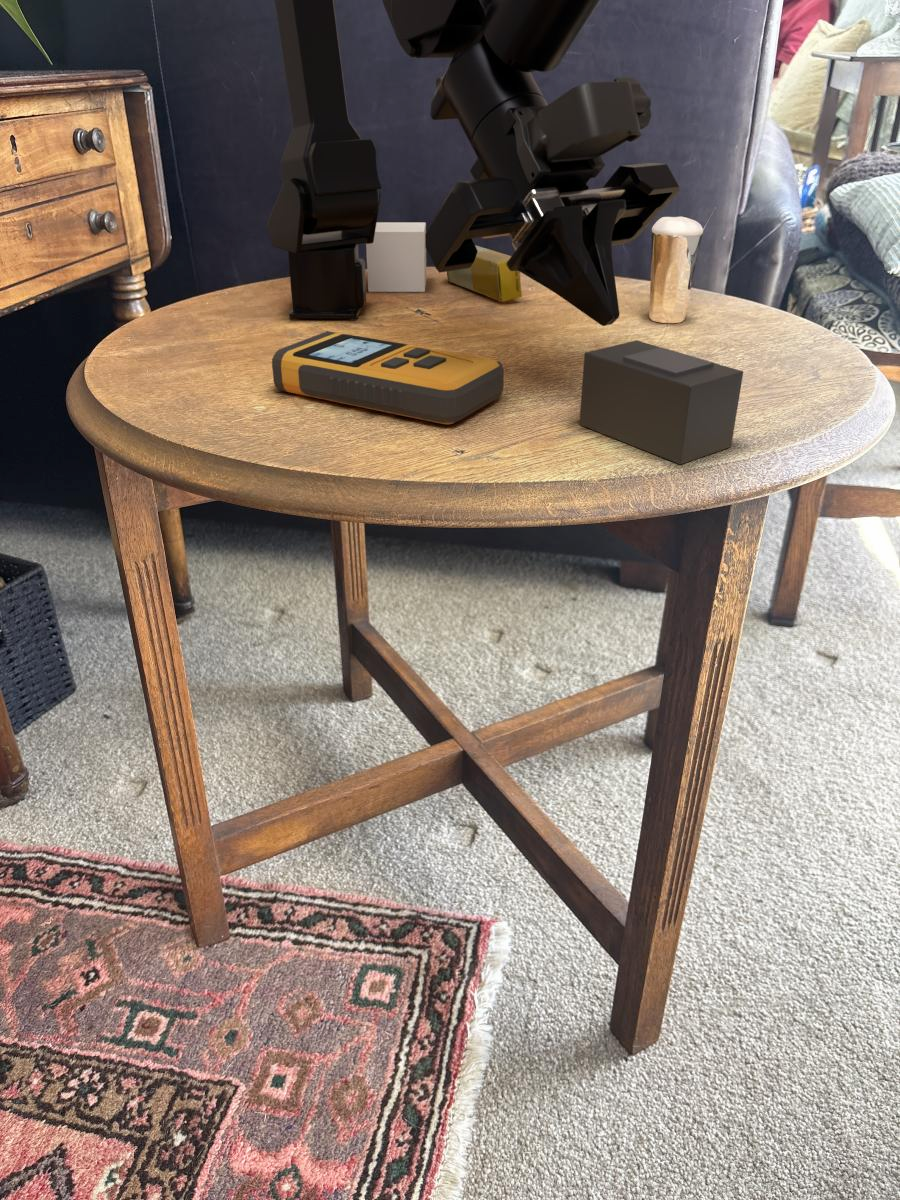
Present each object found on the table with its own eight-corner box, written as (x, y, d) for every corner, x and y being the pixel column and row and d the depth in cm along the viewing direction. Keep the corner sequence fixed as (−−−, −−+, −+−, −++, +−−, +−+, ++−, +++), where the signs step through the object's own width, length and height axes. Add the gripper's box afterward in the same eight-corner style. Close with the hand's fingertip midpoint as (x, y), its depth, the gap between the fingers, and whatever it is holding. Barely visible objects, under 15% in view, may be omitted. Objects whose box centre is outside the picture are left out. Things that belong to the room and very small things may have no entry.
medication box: (445, 282, 103) (441, 244, 101) (467, 277, 104) (463, 240, 102) (500, 303, 94) (497, 261, 92) (523, 297, 95) (521, 256, 92)
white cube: (368, 292, 99) (365, 231, 96) (372, 279, 104) (369, 222, 101) (425, 291, 99) (424, 231, 96) (426, 279, 104) (425, 221, 101)
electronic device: (451, 435, 63) (451, 387, 61) (270, 395, 70) (266, 350, 68) (509, 399, 69) (510, 354, 68) (337, 365, 76) (335, 323, 74)
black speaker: (584, 348, 62) (691, 382, 55) (637, 336, 64) (744, 367, 58) (578, 424, 64) (680, 465, 58) (629, 410, 67) (731, 447, 61)
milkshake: (700, 327, 87) (716, 211, 82) (641, 324, 88) (653, 209, 82) (699, 315, 90) (714, 203, 85) (643, 312, 91) (654, 201, 86)
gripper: (451, 26, 53) (574, 262, 51) (675, 29, 62) (786, 227, 60) (379, 167, 62) (481, 371, 60) (583, 150, 72) (676, 326, 70)
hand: (611, 321), depth 62 cm, fingers closed
